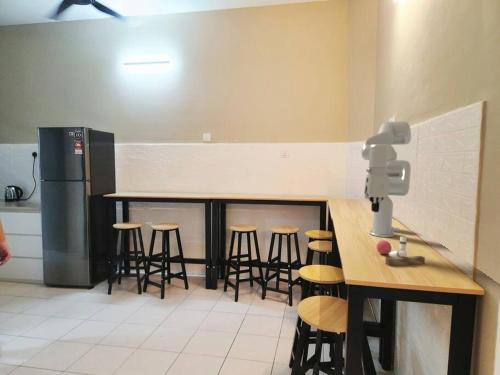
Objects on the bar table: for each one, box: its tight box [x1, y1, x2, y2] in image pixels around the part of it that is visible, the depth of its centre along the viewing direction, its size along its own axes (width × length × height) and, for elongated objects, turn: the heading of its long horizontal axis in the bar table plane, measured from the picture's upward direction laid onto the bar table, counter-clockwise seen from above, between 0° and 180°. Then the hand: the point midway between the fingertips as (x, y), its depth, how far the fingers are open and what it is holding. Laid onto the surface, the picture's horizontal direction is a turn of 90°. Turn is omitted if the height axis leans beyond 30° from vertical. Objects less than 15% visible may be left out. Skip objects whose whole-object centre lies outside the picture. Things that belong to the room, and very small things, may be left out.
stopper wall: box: [385, 255, 426, 267], centre depth 124 cm, size 16×2×2 cm, turn 101°
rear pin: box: [398, 235, 408, 253], centre depth 131 cm, size 3×3×9 cm
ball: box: [376, 240, 392, 255], centre depth 136 cm, size 6×6×6 cm
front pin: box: [387, 250, 407, 258], centre depth 128 cm, size 3×3×9 cm
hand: (375, 211), depth 144 cm, fingers closed
